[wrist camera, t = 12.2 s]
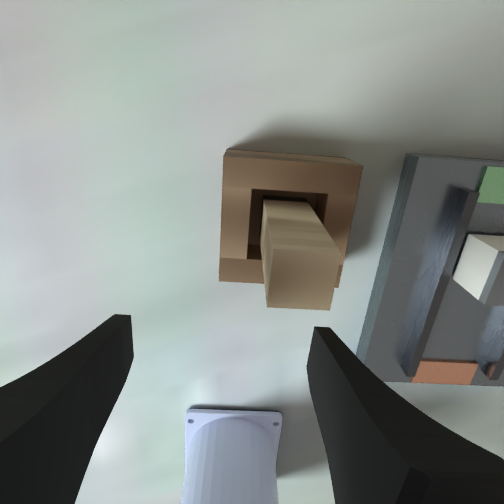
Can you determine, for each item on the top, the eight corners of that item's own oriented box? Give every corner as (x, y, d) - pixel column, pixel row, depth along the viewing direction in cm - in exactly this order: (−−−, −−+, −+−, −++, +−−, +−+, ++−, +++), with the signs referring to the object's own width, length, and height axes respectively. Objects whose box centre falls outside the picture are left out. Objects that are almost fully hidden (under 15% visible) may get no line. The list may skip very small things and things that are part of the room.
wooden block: (299, 237, 20) (329, 310, 13) (259, 234, 20) (267, 307, 13) (305, 197, 19) (341, 253, 12) (262, 195, 19) (273, 248, 12)
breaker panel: (501, 372, 26) (526, 397, 24) (353, 365, 26) (363, 391, 23) (601, 167, 20) (648, 175, 17) (406, 153, 19) (428, 159, 17)
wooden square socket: (326, 265, 22) (338, 287, 19) (222, 259, 22) (218, 281, 19) (346, 158, 19) (362, 166, 17) (226, 149, 19) (223, 156, 16)
